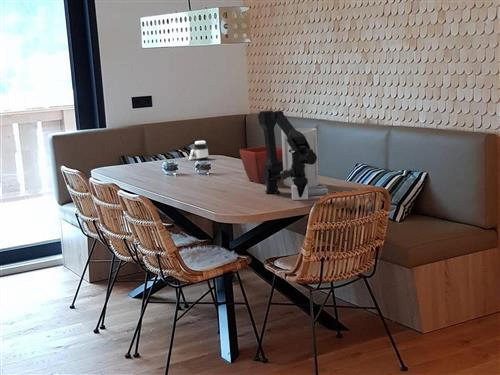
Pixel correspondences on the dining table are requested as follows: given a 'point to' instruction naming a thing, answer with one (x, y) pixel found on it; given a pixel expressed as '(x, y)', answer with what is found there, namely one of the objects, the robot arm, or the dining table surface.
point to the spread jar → (199, 151)
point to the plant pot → (257, 162)
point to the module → (296, 196)
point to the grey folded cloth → (317, 190)
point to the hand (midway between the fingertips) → (299, 195)
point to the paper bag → (310, 170)
